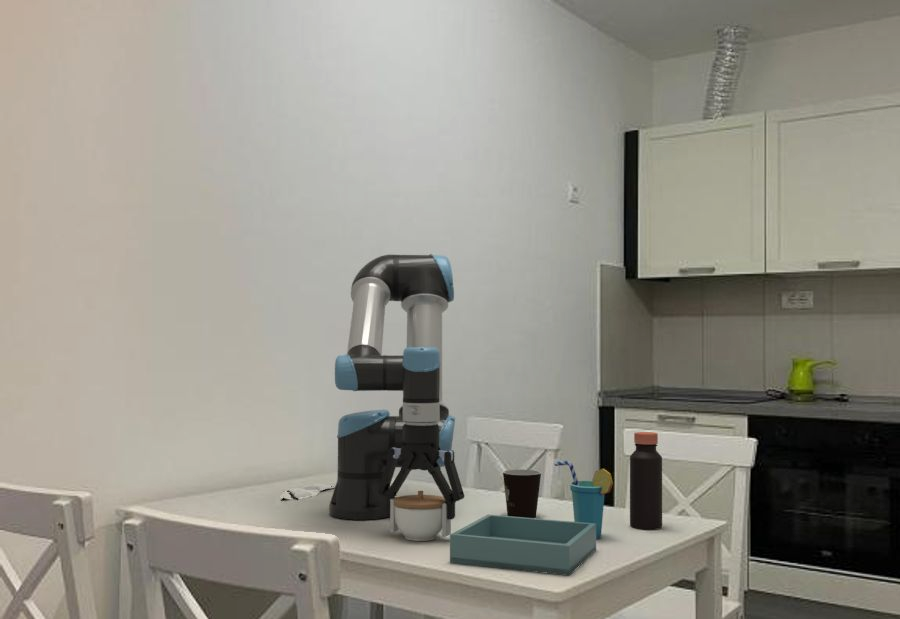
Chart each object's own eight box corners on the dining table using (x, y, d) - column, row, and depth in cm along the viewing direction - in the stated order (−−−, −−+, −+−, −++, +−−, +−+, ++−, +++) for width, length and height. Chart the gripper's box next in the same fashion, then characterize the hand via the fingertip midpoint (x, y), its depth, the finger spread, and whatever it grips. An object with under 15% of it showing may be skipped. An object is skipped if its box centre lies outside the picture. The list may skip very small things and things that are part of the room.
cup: (545, 534, 186) (545, 461, 186) (563, 528, 192) (564, 457, 193) (606, 544, 178) (606, 467, 178) (624, 537, 184) (624, 463, 184)
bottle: (667, 529, 191) (667, 434, 192) (636, 530, 190) (636, 435, 191) (654, 523, 198) (654, 431, 199) (625, 523, 197) (625, 431, 197)
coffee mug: (538, 521, 199) (539, 475, 199) (500, 519, 201) (500, 474, 201) (544, 511, 210) (544, 468, 211) (507, 509, 212) (507, 466, 212)
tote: (449, 562, 163) (450, 534, 163) (487, 539, 181) (487, 514, 181) (569, 575, 154) (569, 546, 154) (596, 549, 173) (596, 523, 173)
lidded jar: (427, 546, 175) (428, 497, 175) (382, 539, 181) (383, 492, 181) (456, 536, 184) (457, 489, 184) (413, 529, 190) (413, 484, 190)
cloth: (318, 486, 248) (318, 477, 248) (357, 491, 240) (357, 482, 240) (248, 500, 226) (248, 491, 226) (288, 506, 219) (288, 497, 219)
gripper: (361, 422, 184) (360, 531, 183) (467, 427, 175) (467, 542, 175) (378, 419, 191) (377, 524, 190) (481, 424, 182) (480, 534, 181)
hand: (420, 533), depth 182 cm, fingers closed on lidded jar, 11 cm apart
